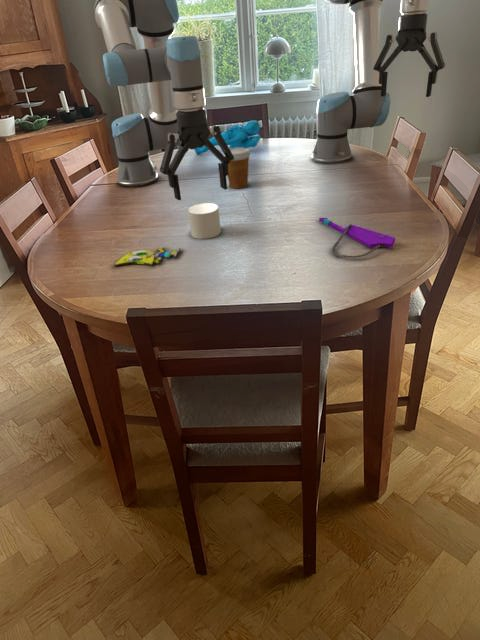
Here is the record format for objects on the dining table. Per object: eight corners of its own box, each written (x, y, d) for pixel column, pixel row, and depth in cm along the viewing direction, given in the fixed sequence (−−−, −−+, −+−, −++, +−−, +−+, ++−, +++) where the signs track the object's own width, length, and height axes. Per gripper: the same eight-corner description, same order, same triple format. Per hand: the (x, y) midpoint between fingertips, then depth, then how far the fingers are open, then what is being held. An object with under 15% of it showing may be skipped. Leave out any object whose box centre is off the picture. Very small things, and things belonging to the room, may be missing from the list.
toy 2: (171, 262, 119) (113, 263, 121) (171, 266, 119) (114, 266, 121) (180, 245, 127) (126, 246, 129) (180, 248, 128) (127, 249, 130)
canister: (199, 241, 131) (196, 216, 127) (186, 232, 138) (182, 208, 134) (226, 233, 135) (223, 208, 131) (212, 224, 141) (209, 201, 137)
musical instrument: (379, 268, 112) (405, 226, 124) (378, 260, 110) (405, 219, 123) (287, 256, 124) (320, 220, 137) (286, 249, 123) (319, 213, 135)
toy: (198, 134, 217) (260, 114, 207) (206, 157, 223) (267, 139, 212) (187, 143, 204) (253, 123, 194) (196, 168, 209) (261, 149, 199)
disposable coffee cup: (220, 189, 168) (217, 154, 161) (231, 180, 175) (228, 146, 168) (246, 190, 164) (243, 154, 158) (255, 181, 171) (253, 147, 165)
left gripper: (147, 118, 111) (162, 207, 122) (242, 102, 120) (248, 186, 131) (137, 115, 117) (153, 200, 128) (228, 100, 126) (235, 180, 137)
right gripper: (365, 17, 138) (361, 97, 149) (457, 10, 126) (445, 98, 137) (374, 15, 143) (369, 93, 154) (464, 9, 131) (451, 94, 142)
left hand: (201, 193), depth 130 cm, fingers open, 13 cm apart
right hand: (405, 96), depth 146 cm, fingers open, 13 cm apart
